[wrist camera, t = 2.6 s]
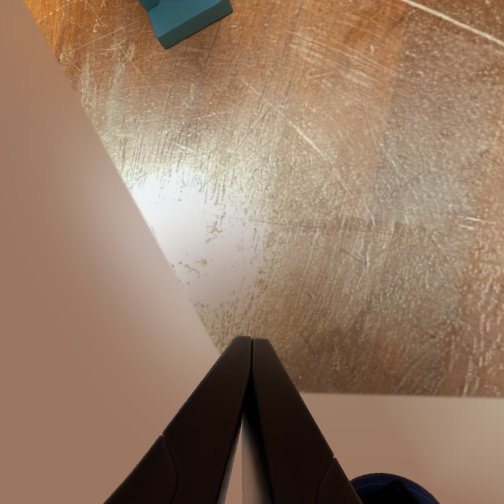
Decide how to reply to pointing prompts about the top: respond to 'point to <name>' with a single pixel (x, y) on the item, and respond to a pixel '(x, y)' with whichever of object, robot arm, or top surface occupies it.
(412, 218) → the top surface
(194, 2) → the teal clevis bracket
